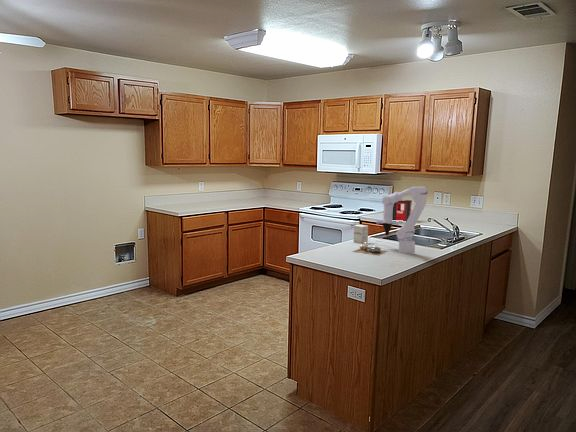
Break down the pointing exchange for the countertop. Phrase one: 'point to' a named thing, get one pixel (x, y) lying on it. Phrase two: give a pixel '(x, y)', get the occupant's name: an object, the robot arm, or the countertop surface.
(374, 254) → the stand base
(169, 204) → the countertop surface
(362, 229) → the supplement box
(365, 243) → the capstan dial
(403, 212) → the cleaning product box
